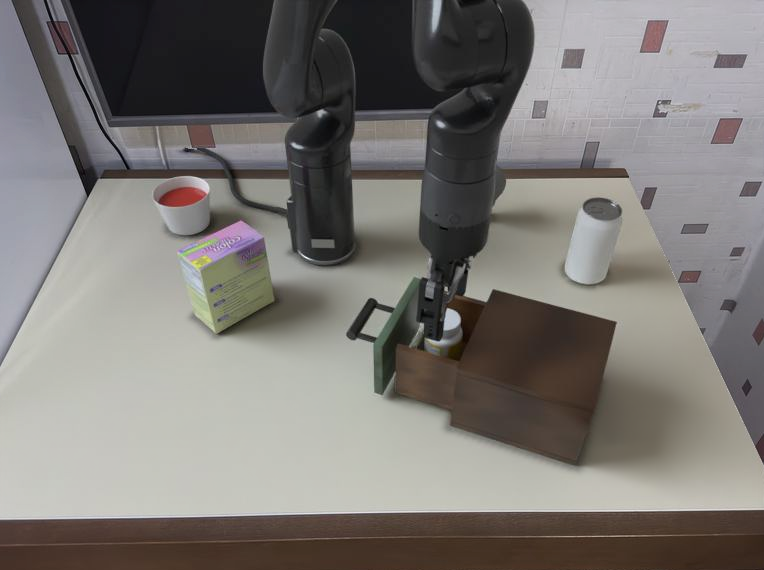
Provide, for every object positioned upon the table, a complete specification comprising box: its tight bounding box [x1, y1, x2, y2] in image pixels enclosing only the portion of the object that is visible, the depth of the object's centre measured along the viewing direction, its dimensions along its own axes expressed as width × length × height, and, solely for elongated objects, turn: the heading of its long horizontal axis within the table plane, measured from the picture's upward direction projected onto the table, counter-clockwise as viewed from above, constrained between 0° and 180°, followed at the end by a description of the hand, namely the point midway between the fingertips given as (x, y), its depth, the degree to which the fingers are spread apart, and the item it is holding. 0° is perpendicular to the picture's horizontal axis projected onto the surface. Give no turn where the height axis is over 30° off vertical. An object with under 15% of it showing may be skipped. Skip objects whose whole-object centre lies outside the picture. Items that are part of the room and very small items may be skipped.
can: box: [564, 196, 623, 286], centre depth 101 cm, size 6×6×12 cm
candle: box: [151, 175, 211, 236], centre depth 110 cm, size 9×9×6 cm
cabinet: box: [449, 288, 618, 467], centre depth 83 cm, size 16×15×11 cm
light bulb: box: [492, 164, 507, 208], centre depth 112 cm, size 6×6×10 cm
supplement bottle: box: [424, 308, 463, 361], centre depth 86 cm, size 5×5×8 cm
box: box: [176, 220, 276, 335], centre depth 94 cm, size 10×6×12 cm, turn 134°
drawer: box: [345, 276, 487, 411], centre depth 87 cm, size 20×14×9 cm
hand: (444, 314), depth 82 cm, fingers open, 8 cm apart
